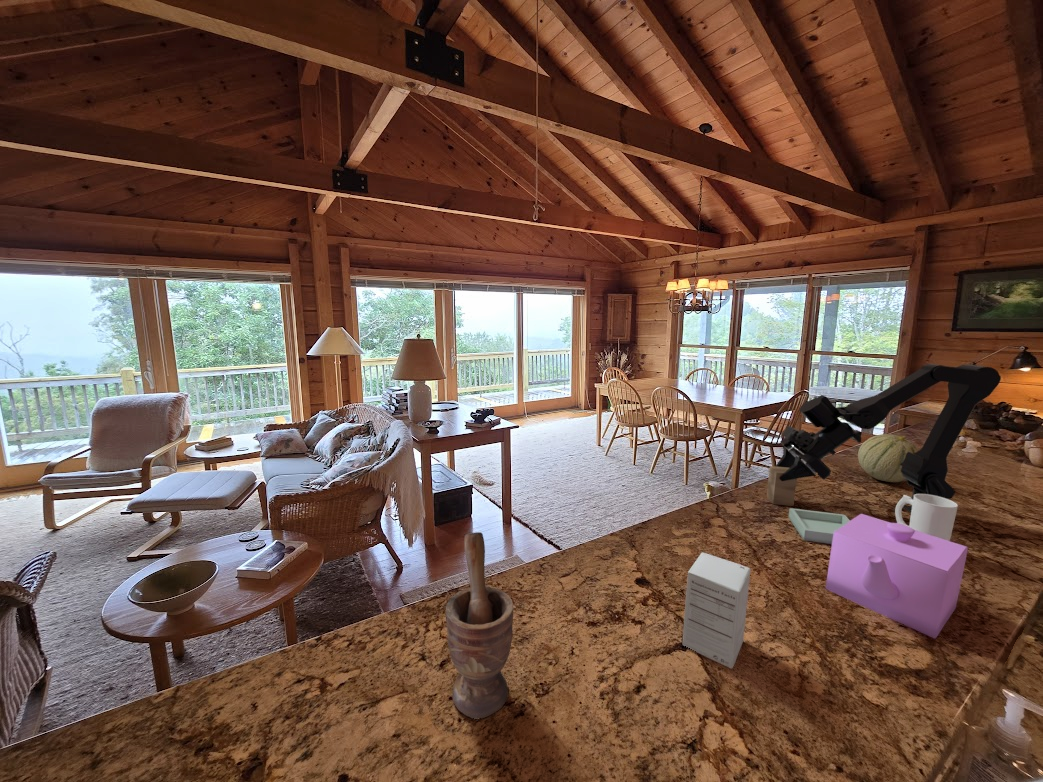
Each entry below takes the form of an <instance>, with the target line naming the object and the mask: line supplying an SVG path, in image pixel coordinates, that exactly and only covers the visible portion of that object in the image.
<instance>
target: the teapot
mask: <svg viewBox="0 0 1043 782" xmlns="http://www.w3.org/2000/svg"><path fill="white" fill-rule="evenodd" d="M906 525H907V524H906ZM906 525H903V524H899V523H897V522H889V521H886V520H882V519H879V518H876V517H874V516H871V515H867V514H863V513H860V514H858V515H857V516H855V517H854V518H852V519H850V521H849V522H848V523H846V524H845V525H843V526H842V527H841V528H839V529H838V530H836V531H835V532H834V534H833V540H832V544H831V547H830V556H829V562H828V569H827V576H826V583H825V590H827V591H829V592H830V593H833V594H836V595H837V596H839V597H842V598H845V599H846V600H848V601H850V602H854V603H856V604H858V605H859V606H862V607H864V608H867V609H868V610H870V611H873V612H875V613H878V614H880V615H882V616H884V617H886V618H888V619H890V620H893V621H895V622H897V623H899V624H900V625H903V624H904V625H903V626H906V627H907V628H911V629H913V630H915V631H916V632H918V633H922V634H924V635H925V636H928V637H931V638H933V639H934V640H935V639H937V637H938V636H939V634H940V633H941V631H942V629H943V628H944V626H945V625H946V623H947V622H948V621H949V619H950V617H951V616H952V615H953V612H954V611H955V610H956V609H957V604H958V598H959V593H960V589H961V584H962V580H963V574H964V569H965V565H966V561H967V560H966V559H967V555H968V550H969V548H968V547H969V546H966V545H962V544H960V543H956V542H953V541H951V540H950V541H947V540H944V539H941V538H938V537H935V536H931V535H928V534H925V533H922V532H919V531H917V530H914V529H912V528H910V527H908V526H909V525H908V526H906Z"/></svg>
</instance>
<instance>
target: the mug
mask: <svg viewBox="0 0 1043 782" xmlns="http://www.w3.org/2000/svg"><path fill="white" fill-rule="evenodd" d="M907 504H909V505H912V510H911V513H910V517H909V518H910V519H909V525H908V524H907V523H906V522H905V521H904V519H903V515H902V510H903V508H904V507H903V506H904V505H907ZM958 506H959V504H958V503H956V502H955V501H953V500H952V499H947V498H942V497H939V496H934V495H928V494H915V495H914V498H913V499H912V496H908V495H907V494H903V495H902V497H901V498H900V500H899V501H898V502H897V504H896V506H895V509H894V512H895V513H894V515H895V519H896V523H899V524H903V525H906V526H908V527H910V528H912V529H914V530H917V531H919V532H922V533H925V534H928V535H931V536H935V537H938V538H941V539H944V540H947V541H950V542H951V537H952V533H953V529H954V524H955V519H956V516H957V512H958Z"/></svg>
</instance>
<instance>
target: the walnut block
mask: <svg viewBox="0 0 1043 782" xmlns="http://www.w3.org/2000/svg"><path fill="white" fill-rule="evenodd" d="M775 466H776V465H775ZM775 466H771V465H770V466H769V473H768V480H767V482H768V483H767V490H766V498H767V499H768V500H769V501H770V502H771V504H773V505H778V506H779V505H780V506H792V507H794V504H795V503H794V502H795V495H796V487H797V479H798V478H797V479H792V480H787V481H781V480H780V479H779V478H780V476H781V475H782V474H783V473H785V472H786V471H787V470H788V469H789V467H775Z"/></svg>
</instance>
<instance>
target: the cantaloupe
mask: <svg viewBox="0 0 1043 782" xmlns="http://www.w3.org/2000/svg"><path fill="white" fill-rule="evenodd" d="M907 438H908V437H907V435H902V436H900V435H896V434H890V433H883V434H882V433H881V434H876V435H874V436H872V437H869V438H867V439H866V440H865V441H864V442H863V443H862V444H861V445H860V447H859V450H858V453H857V459H858V463H859V465H860V467H861V469H862V470H863V471H864V472H865V473H867V474H868V475H869V476H870V477H872V478H874V479H875V480H878V481H883V482H887V483H902V482H905V481H906V478H905V477H904V476H903V474H902V473H901V468H902V466H901V465H900V464H901V463H902V462H903V461H904V459H905V457H906V454H907V453H908V452H911V453H913V454H914V453H916V452H917V451H919V450H920V449H918V447H917V446H916V445H914V443H913V442H911V441H910V440H908V439H907Z"/></svg>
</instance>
